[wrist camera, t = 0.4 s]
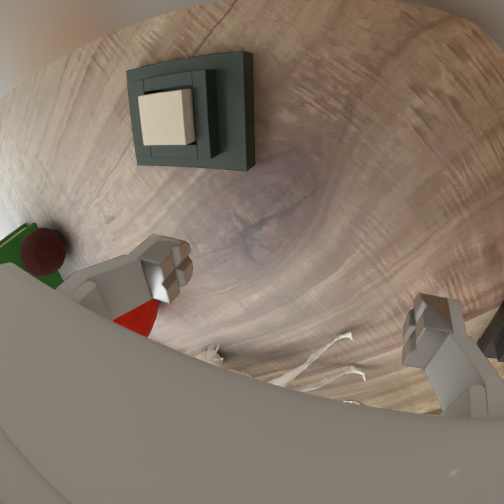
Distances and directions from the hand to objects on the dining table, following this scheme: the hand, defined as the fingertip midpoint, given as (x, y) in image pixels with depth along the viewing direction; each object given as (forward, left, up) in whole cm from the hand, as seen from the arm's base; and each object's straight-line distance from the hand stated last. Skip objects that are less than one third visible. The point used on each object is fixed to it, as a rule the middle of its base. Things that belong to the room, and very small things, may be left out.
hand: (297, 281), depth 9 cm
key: (-4, -13, -13) cm, 19 cm away
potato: (+16, -46, -16) cm, 52 cm away
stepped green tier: (-4, -13, -16) cm, 21 cm away
